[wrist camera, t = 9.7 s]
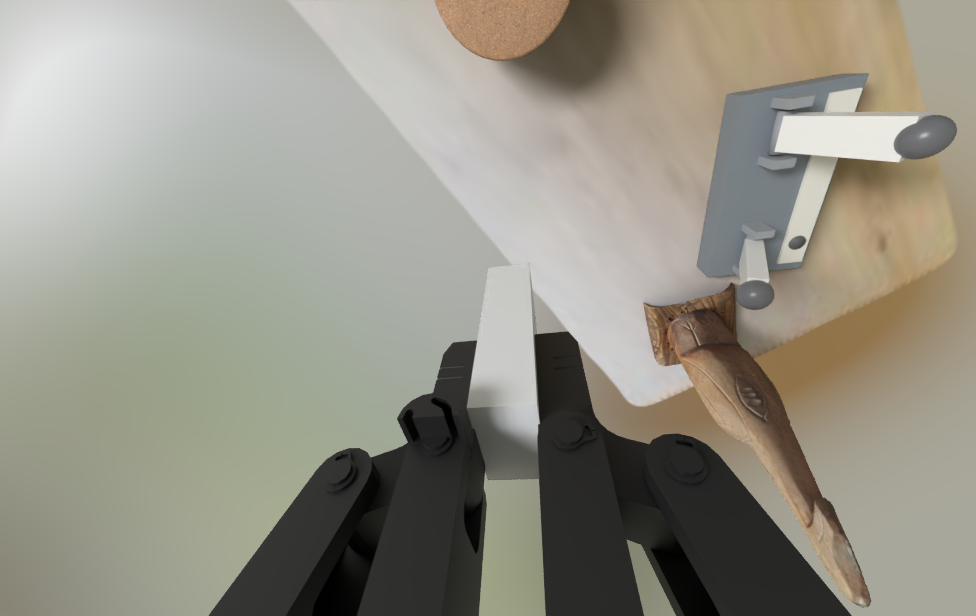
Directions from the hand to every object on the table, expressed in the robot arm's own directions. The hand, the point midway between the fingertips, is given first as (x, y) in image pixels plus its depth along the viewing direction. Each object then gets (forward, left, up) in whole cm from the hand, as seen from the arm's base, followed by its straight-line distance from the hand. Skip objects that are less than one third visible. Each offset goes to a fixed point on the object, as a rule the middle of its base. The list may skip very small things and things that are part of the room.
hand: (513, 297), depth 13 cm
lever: (+4, +28, -26) cm, 38 cm away
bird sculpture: (+17, +29, -31) cm, 46 cm away
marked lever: (-7, +24, -26) cm, 36 cm away
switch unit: (-2, +27, -30) cm, 41 cm away
